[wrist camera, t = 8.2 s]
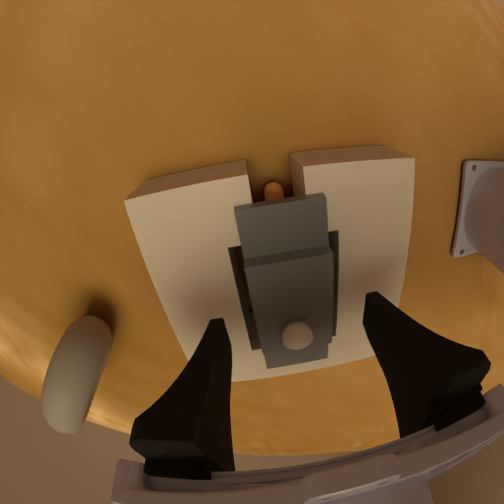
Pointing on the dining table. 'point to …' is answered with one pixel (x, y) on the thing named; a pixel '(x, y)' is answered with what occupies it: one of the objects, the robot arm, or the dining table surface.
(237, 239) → the chassis
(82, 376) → the donut
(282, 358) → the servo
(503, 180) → the robot arm
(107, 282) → the dining table surface
